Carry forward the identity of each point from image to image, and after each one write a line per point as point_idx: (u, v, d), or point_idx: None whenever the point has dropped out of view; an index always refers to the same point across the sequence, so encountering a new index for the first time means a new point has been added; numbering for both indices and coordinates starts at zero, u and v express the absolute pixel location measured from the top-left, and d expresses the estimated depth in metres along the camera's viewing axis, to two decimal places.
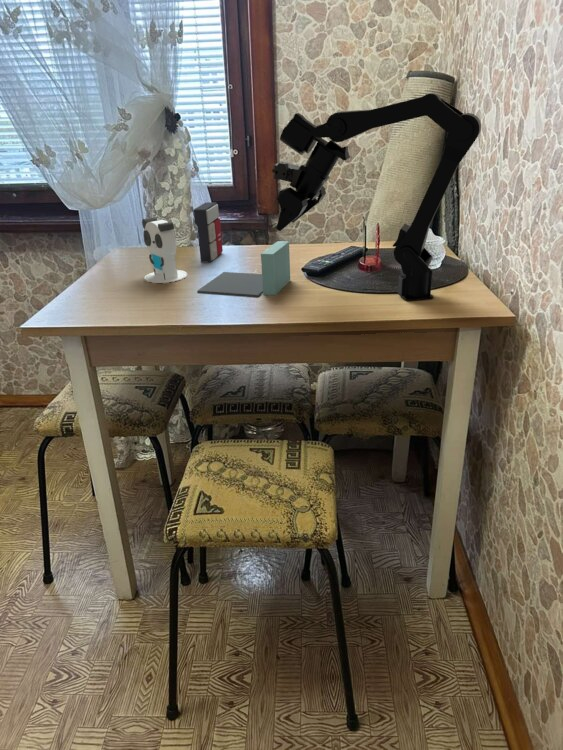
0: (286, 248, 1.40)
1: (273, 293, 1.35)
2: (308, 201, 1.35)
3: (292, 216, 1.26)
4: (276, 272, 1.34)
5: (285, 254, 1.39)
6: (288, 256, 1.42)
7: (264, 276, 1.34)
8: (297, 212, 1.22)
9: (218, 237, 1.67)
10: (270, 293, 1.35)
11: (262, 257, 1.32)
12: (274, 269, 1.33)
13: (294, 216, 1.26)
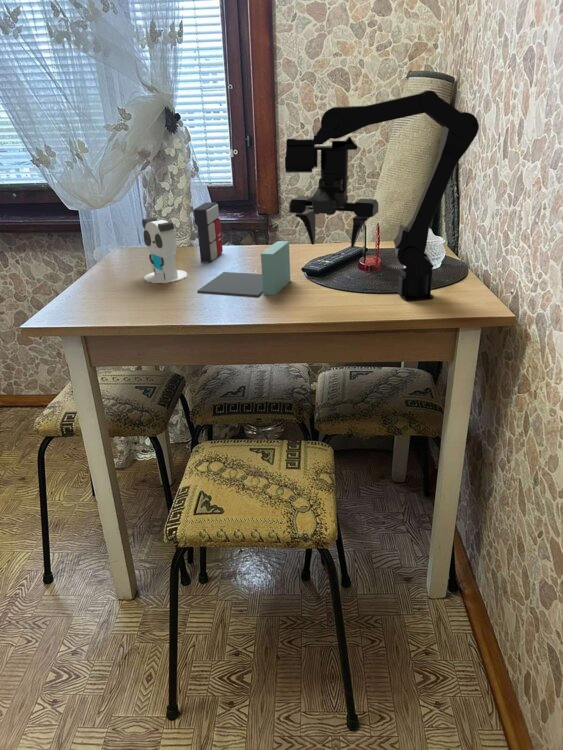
0: (286, 248, 1.40)
1: (273, 293, 1.35)
2: (312, 214, 1.27)
3: (363, 222, 1.24)
4: (276, 272, 1.34)
5: (285, 254, 1.39)
6: (288, 256, 1.42)
7: (264, 276, 1.34)
8: None
9: (218, 237, 1.67)
10: (270, 293, 1.35)
11: (262, 257, 1.32)
12: (274, 269, 1.33)
13: None
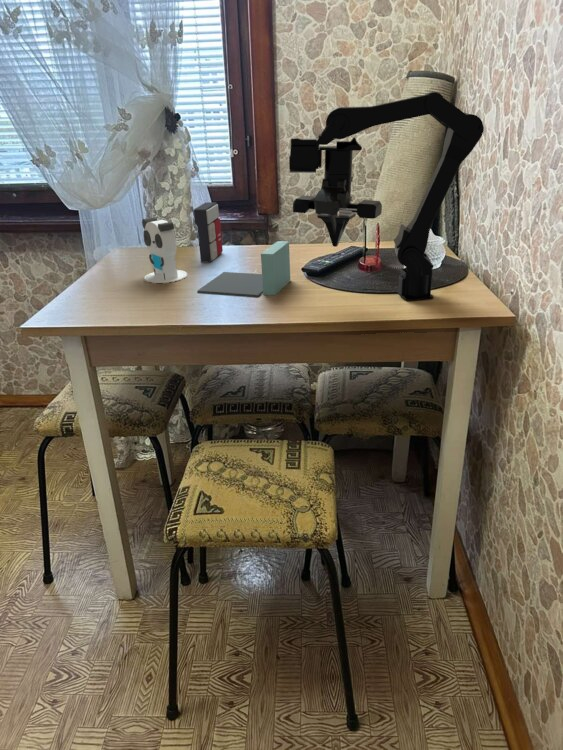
0: (286, 248, 1.40)
1: (273, 293, 1.35)
2: (335, 216, 1.25)
3: (346, 221, 1.25)
4: (276, 272, 1.34)
5: (285, 254, 1.39)
6: (288, 256, 1.42)
7: (264, 276, 1.34)
8: None
9: (218, 237, 1.67)
10: (270, 293, 1.35)
11: (262, 257, 1.32)
12: (274, 269, 1.33)
13: (348, 220, 1.26)
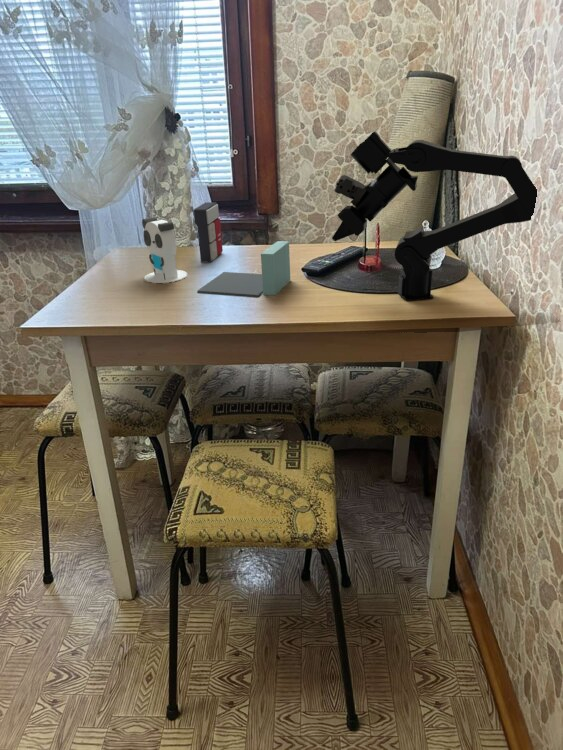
0: (286, 248, 1.40)
1: (273, 293, 1.35)
2: None
3: None
4: (276, 272, 1.34)
5: (285, 254, 1.39)
6: (288, 256, 1.42)
7: (264, 276, 1.34)
8: (356, 234, 1.19)
9: (218, 237, 1.67)
10: (270, 293, 1.35)
11: (262, 257, 1.32)
12: (274, 269, 1.33)
13: None
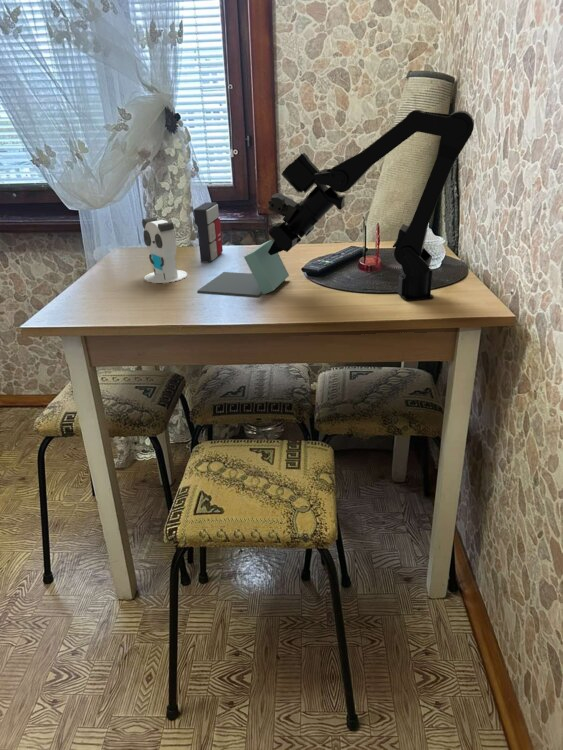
0: (270, 246, 1.41)
1: (271, 288, 1.35)
2: None
3: None
4: (266, 268, 1.35)
5: None
6: (276, 253, 1.42)
7: (256, 276, 1.35)
8: (286, 250, 1.26)
9: (218, 237, 1.67)
10: (268, 290, 1.35)
11: (246, 259, 1.34)
12: (262, 266, 1.34)
13: None
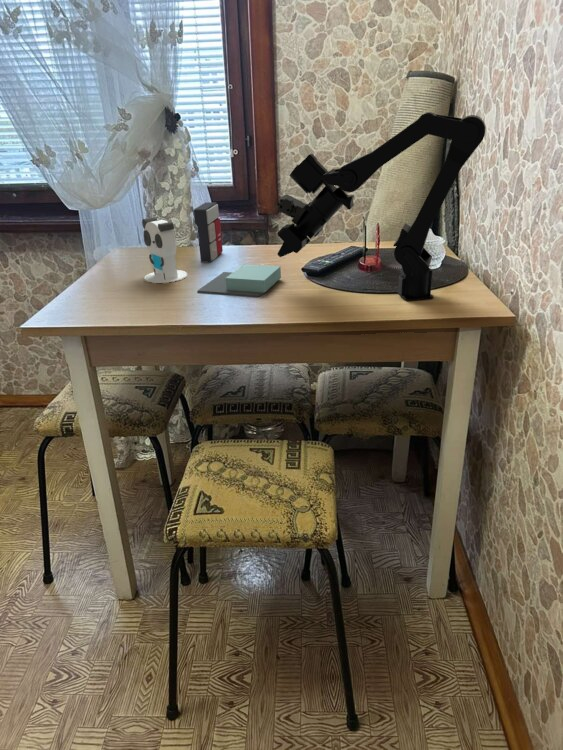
0: (245, 266, 1.45)
1: (262, 281, 1.35)
2: None
3: None
4: (246, 277, 1.37)
5: (247, 268, 1.44)
6: (255, 265, 1.46)
7: (247, 288, 1.37)
8: (295, 251, 1.25)
9: (218, 237, 1.67)
10: (262, 284, 1.35)
11: (229, 288, 1.38)
12: (240, 278, 1.37)
13: None
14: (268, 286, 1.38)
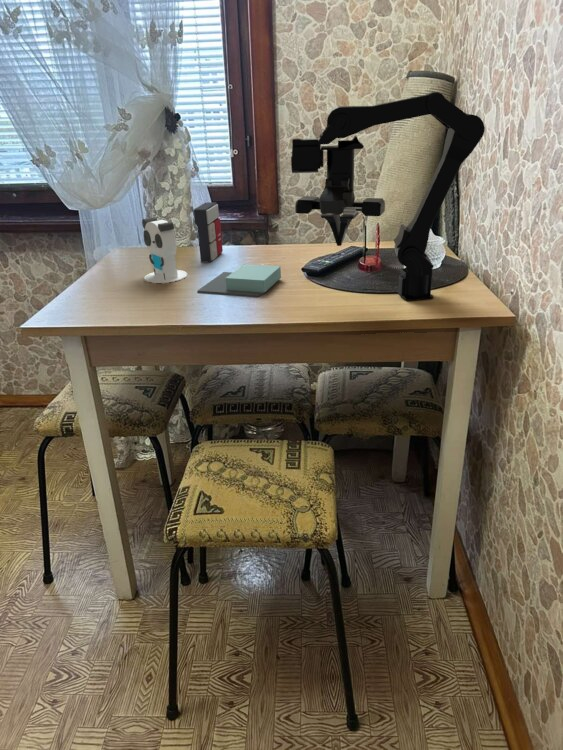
0: (245, 266, 1.45)
1: (262, 281, 1.35)
2: (338, 215, 1.25)
3: (350, 220, 1.25)
4: (246, 277, 1.37)
5: (247, 268, 1.44)
6: (255, 265, 1.46)
7: (247, 288, 1.37)
8: None
9: (218, 237, 1.67)
10: (262, 284, 1.35)
11: (229, 288, 1.38)
12: (240, 278, 1.37)
13: (351, 218, 1.25)
14: (268, 286, 1.38)
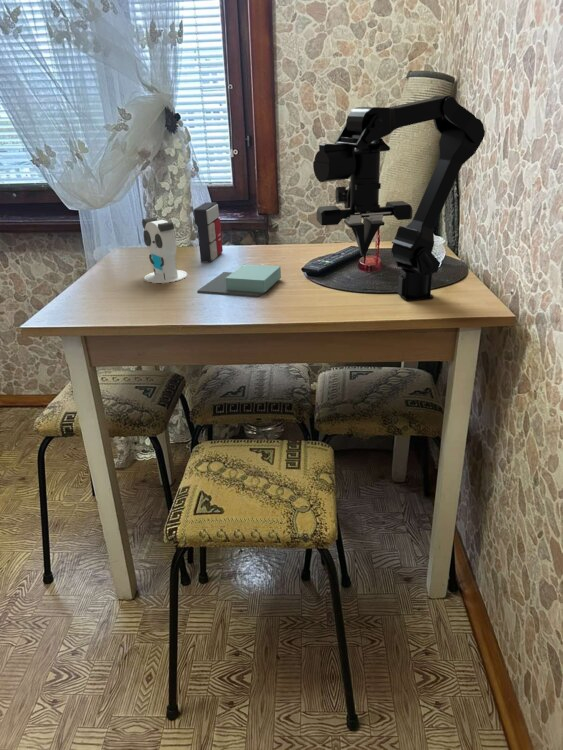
0: (245, 266, 1.45)
1: (262, 281, 1.35)
2: (368, 225, 1.16)
3: None
4: (246, 277, 1.37)
5: (247, 268, 1.44)
6: (255, 265, 1.46)
7: (247, 288, 1.37)
8: (322, 223, 1.13)
9: (218, 237, 1.67)
10: (262, 284, 1.35)
11: (229, 288, 1.38)
12: (240, 278, 1.37)
13: (356, 230, 1.15)
14: (268, 286, 1.38)
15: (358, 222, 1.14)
